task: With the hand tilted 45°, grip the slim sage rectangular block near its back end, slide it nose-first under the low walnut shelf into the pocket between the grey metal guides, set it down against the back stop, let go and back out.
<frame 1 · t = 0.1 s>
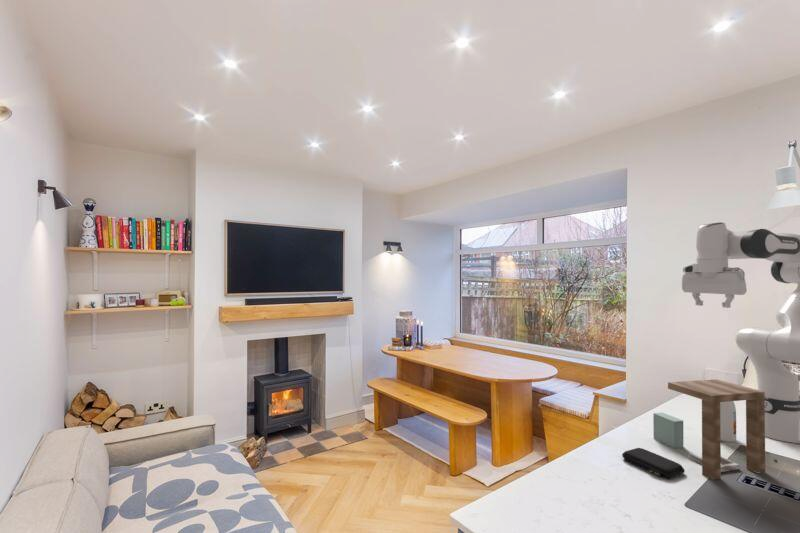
hand: (712, 306, 136), 48 cm above the counter, tool pointing down, fingers open, 8 cm apart
carrying case or bag: (650, 468, 117), on the counter
walnut overhang shelf: (705, 459, 122), on the counter
milk bottle: (722, 438, 138), on the counter
sage rectangular block: (668, 442, 134), on the counter
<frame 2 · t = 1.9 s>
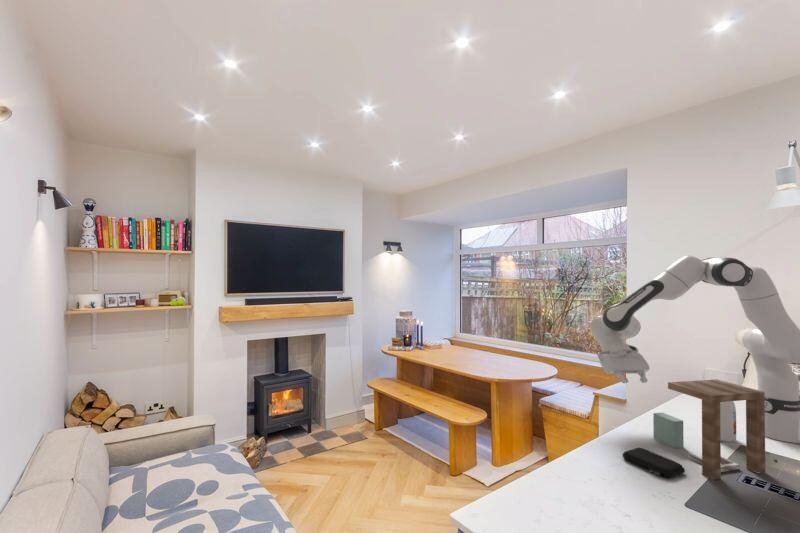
hand: (635, 382, 147), 17 cm above the counter, tool tilted 45°, fingers open, 8 cm apart
nothing on the counter moved.
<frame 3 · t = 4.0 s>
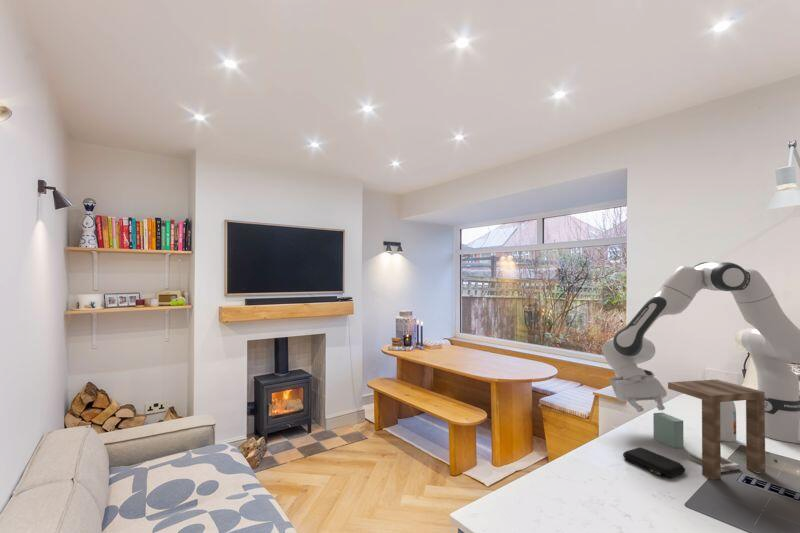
hand: (651, 410, 141), 9 cm above the counter, tool tilted 45°, fingers open, 8 cm apart
nothing on the counter moved.
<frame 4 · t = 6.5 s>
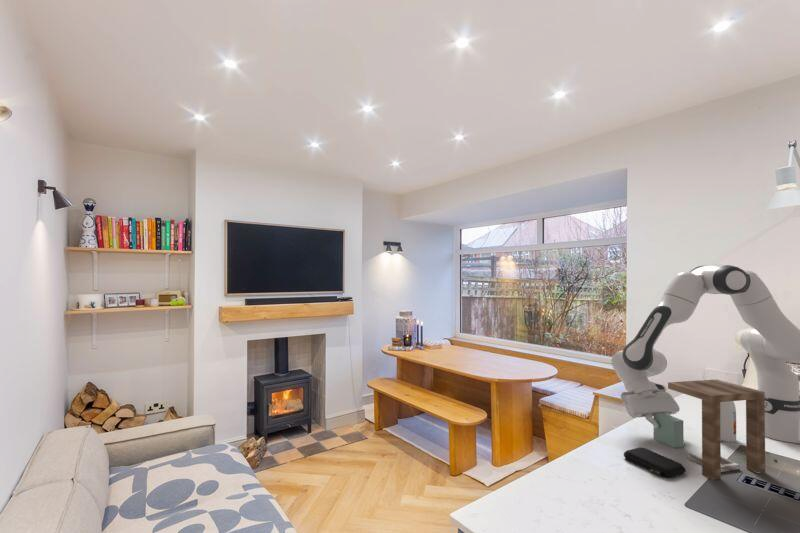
hand: (664, 426, 136), 5 cm above the counter, tool tilted 45°, fingers closed on sage rectangular block, 4 cm apart
sage rectangular block: (668, 442, 134), on the counter, touching gripper
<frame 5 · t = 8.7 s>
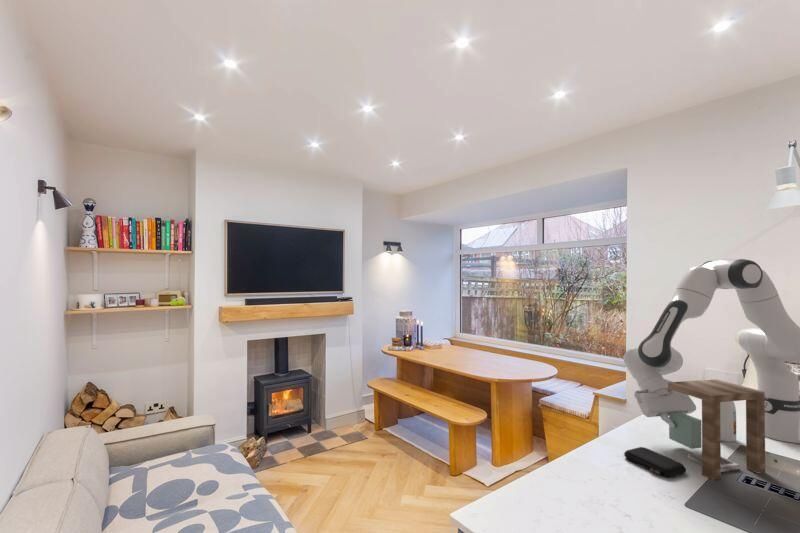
hand: (681, 426, 130), 7 cm above the counter, tool tilted 45°, fingers closed on sage rectangular block, 4 cm apart
sage rectangular block: (684, 443, 128), point 2 cm above the counter, touching gripper
when the fingers open (6 cm above the counter, at t = 11.1 s): sage rectangular block drops 1 cm, on the counter.
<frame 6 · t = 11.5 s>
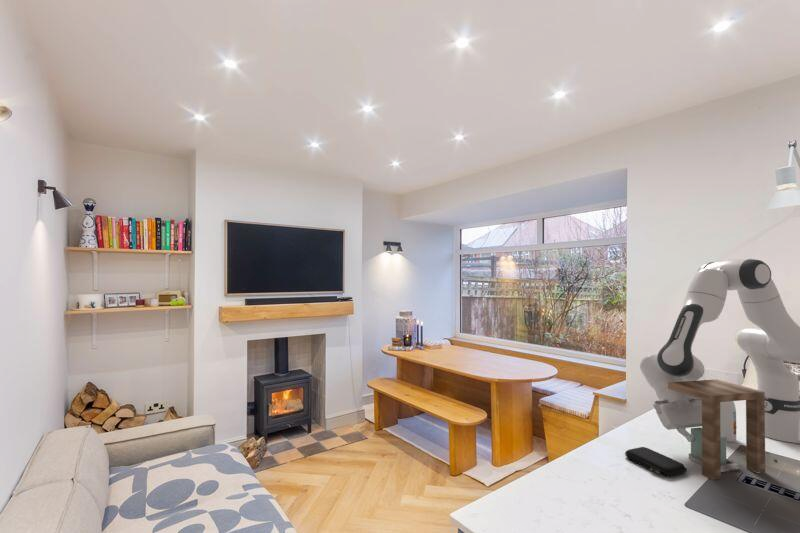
hand: (704, 439, 122), 6 cm above the counter, tool tilted 45°, fingers open, 8 cm apart
sage rectangular block: (708, 461, 121), on the counter
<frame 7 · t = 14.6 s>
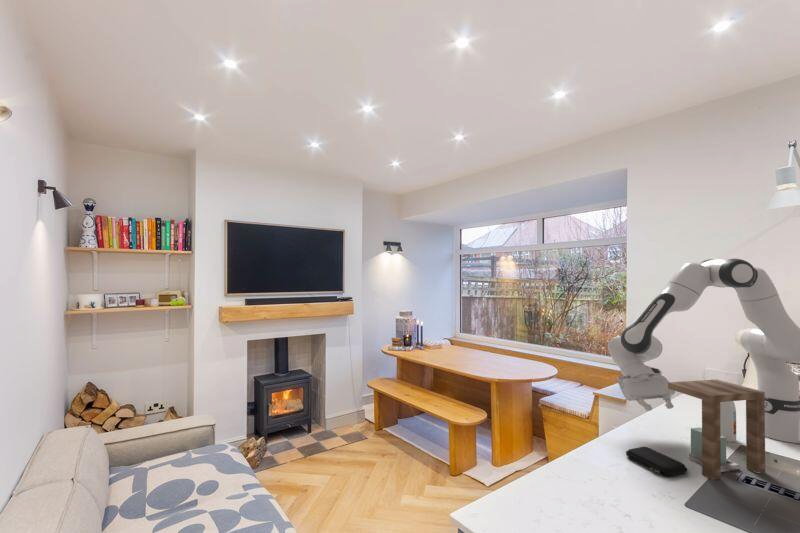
hand: (660, 409, 138), 10 cm above the counter, tool tilted 45°, fingers open, 8 cm apart
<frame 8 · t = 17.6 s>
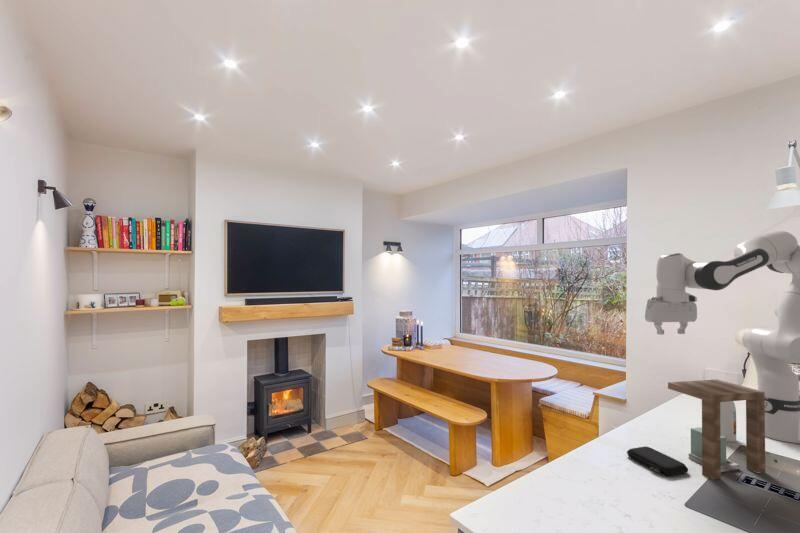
hand: (670, 334, 142), 37 cm above the counter, tool pointing down, fingers open, 8 cm apart
at the end: sage rectangular block 0.6 cm from the target spot, on the counter; sage rectangular block tilted 0°; the gripper is holding nothing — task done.
